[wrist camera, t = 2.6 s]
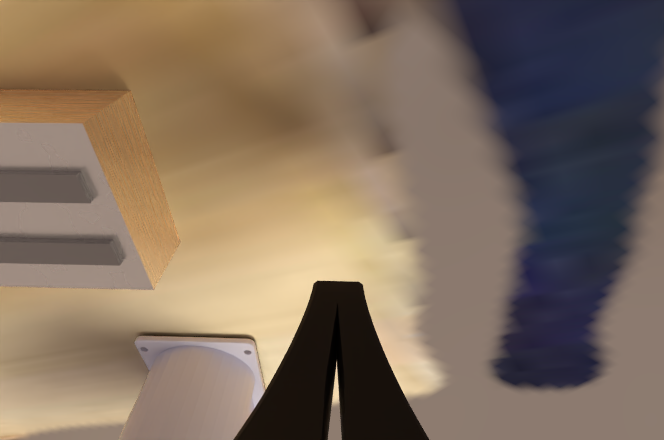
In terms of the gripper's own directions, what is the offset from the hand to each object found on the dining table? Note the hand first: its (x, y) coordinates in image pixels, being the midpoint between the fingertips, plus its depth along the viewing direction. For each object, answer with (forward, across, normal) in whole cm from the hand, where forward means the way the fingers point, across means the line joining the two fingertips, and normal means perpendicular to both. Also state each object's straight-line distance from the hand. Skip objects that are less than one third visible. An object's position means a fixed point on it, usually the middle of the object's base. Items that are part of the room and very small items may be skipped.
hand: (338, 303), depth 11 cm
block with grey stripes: (+8, +13, 0) cm, 15 cm away
